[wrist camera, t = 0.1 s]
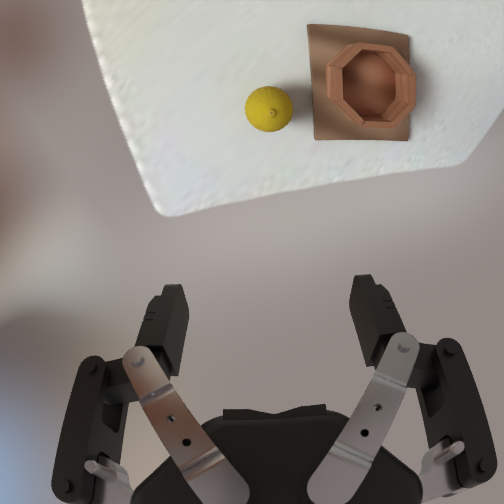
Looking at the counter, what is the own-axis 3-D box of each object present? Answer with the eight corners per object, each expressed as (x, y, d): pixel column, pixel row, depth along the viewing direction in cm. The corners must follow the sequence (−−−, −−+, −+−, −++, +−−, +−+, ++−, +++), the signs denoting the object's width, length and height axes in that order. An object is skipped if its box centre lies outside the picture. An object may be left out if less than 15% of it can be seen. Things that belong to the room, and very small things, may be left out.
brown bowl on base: (306, 25, 28) (316, 18, 23) (404, 35, 27) (424, 33, 23) (314, 138, 37) (323, 149, 33) (404, 139, 36) (423, 150, 32)
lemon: (296, 106, 35) (308, 115, 28) (265, 133, 37) (269, 148, 30) (267, 76, 32) (272, 77, 26) (236, 104, 34) (233, 112, 28)
